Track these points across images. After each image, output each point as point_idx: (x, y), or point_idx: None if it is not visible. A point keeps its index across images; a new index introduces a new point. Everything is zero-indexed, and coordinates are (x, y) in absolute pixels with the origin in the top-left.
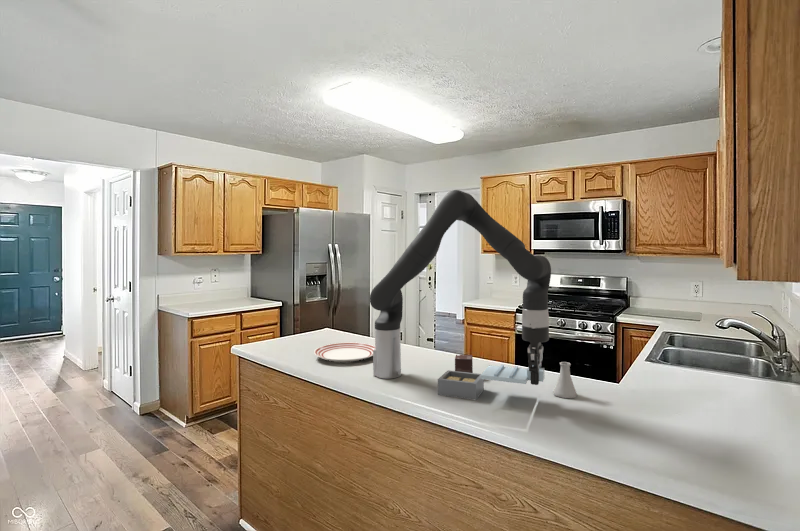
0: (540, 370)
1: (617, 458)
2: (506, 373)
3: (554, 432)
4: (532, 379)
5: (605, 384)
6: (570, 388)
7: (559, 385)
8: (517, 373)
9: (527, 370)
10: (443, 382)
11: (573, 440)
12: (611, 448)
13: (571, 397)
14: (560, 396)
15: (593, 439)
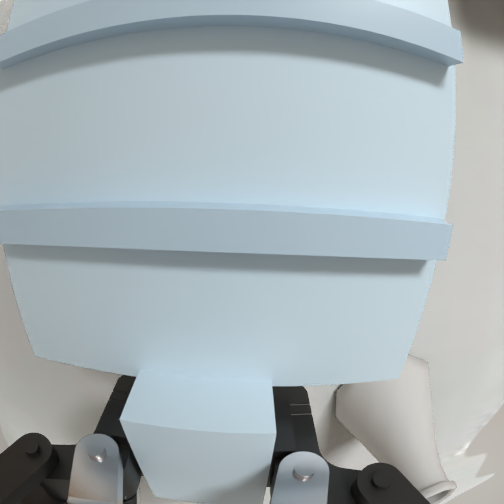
0: (173, 491)
1: (7, 426)
2: (130, 127)
3: (8, 350)
4: (113, 395)
5: (463, 439)
6: (356, 437)
7: (376, 412)
8: (186, 272)
9: (123, 419)
10: None
11: (6, 382)
12: (30, 432)
13: (336, 415)
14: (343, 386)
15: (39, 419)
